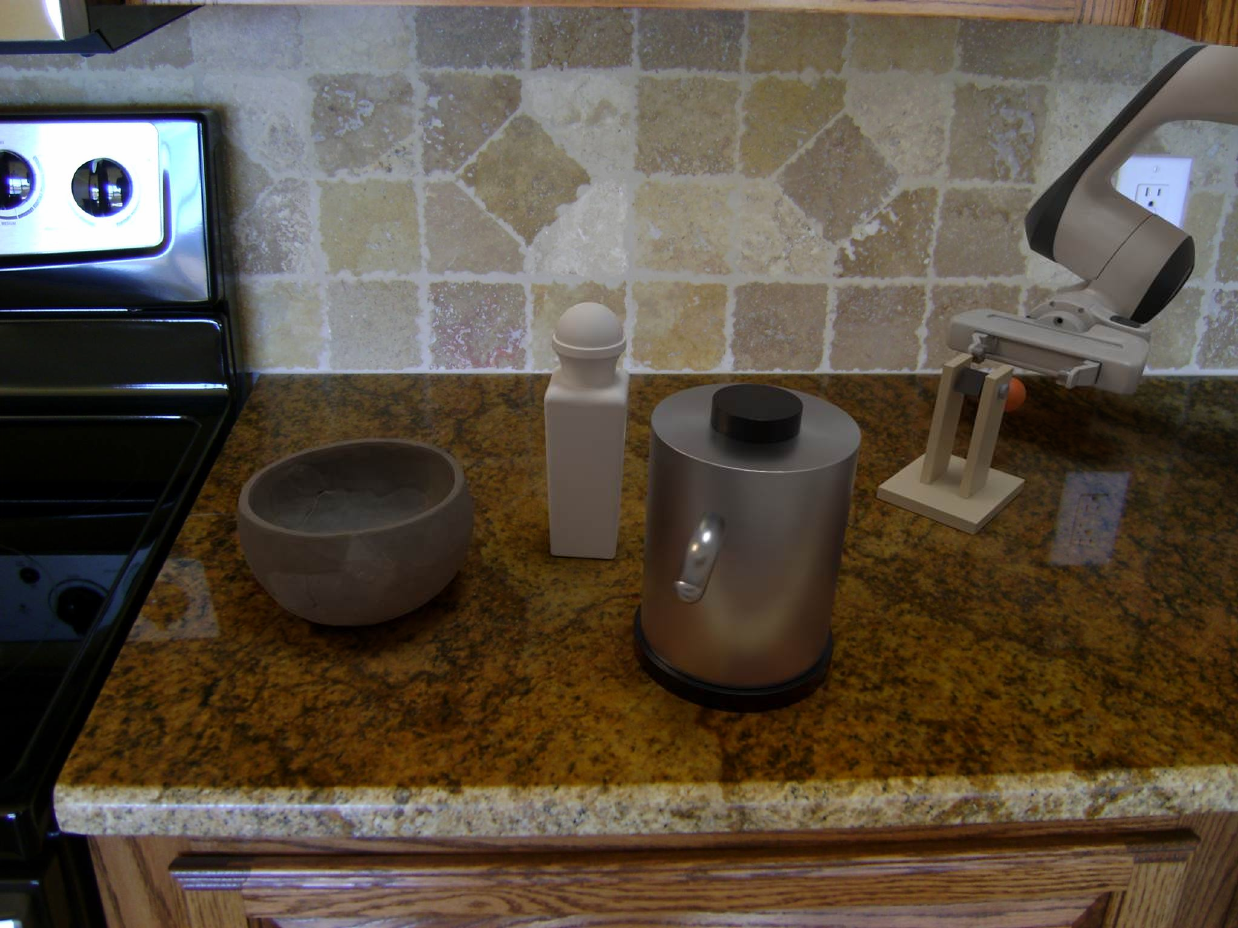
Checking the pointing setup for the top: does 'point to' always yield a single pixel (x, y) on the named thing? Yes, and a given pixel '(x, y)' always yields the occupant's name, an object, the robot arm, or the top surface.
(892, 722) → the top surface
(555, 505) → the white square bottle
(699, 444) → the kettle
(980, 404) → the stand
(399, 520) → the bowl
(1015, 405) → the lever
